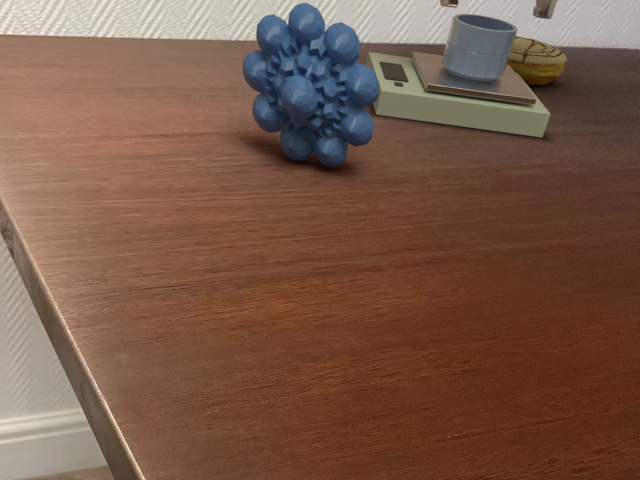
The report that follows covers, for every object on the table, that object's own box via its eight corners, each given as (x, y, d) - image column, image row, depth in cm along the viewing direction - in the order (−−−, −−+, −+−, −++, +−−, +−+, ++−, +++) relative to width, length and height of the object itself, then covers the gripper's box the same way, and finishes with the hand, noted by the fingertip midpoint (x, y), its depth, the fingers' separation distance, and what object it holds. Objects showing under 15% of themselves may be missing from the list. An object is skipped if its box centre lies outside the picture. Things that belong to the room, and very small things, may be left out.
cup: (494, 69, 87) (509, 19, 84) (507, 87, 82) (524, 35, 79) (436, 60, 87) (449, 10, 84) (445, 78, 82) (460, 25, 79)
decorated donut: (511, 60, 105) (521, 29, 103) (575, 86, 99) (587, 54, 96) (453, 62, 100) (462, 30, 98) (517, 90, 94) (528, 56, 91)
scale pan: (507, 70, 90) (509, 65, 89) (534, 105, 80) (536, 99, 80) (410, 56, 89) (411, 51, 89) (425, 90, 80) (427, 83, 79)
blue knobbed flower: (213, 158, 66) (230, -1, 59) (244, 135, 71) (263, -14, 64) (348, 196, 63) (383, 34, 56) (370, 169, 69) (405, 17, 61)
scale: (510, 94, 92) (518, 71, 91) (542, 137, 81) (551, 111, 80) (364, 73, 91) (369, 49, 90) (375, 114, 80) (381, 88, 79)
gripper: (641, -144, 75) (587, 16, 83) (423, -172, 74) (391, -7, 83) (667, -139, 70) (607, 31, 78) (434, -169, 69) (398, 6, 78)
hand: (494, 11), depth 80 cm, fingers open, 8 cm apart
